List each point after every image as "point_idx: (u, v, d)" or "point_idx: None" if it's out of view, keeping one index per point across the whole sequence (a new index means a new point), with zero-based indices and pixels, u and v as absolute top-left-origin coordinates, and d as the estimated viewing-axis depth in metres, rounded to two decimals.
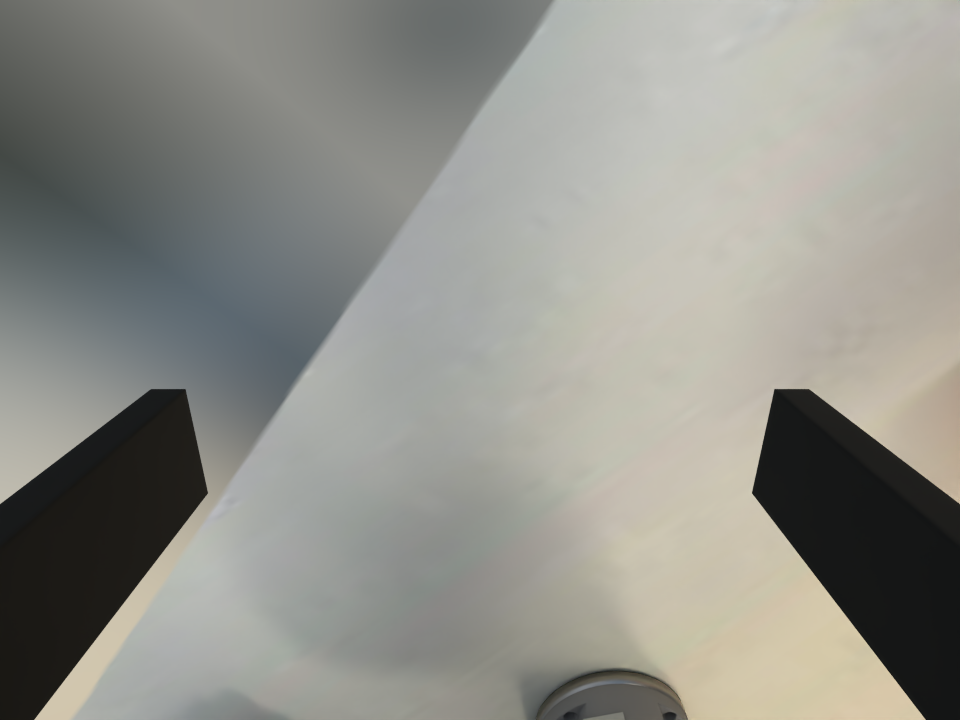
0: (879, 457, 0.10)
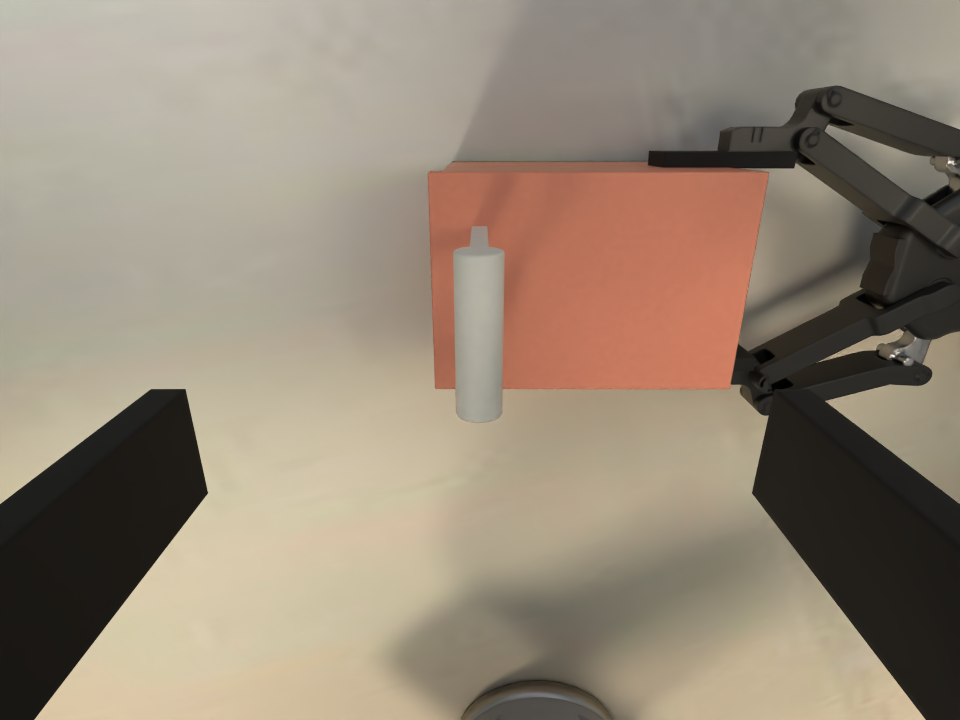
0: (879, 457, 0.10)
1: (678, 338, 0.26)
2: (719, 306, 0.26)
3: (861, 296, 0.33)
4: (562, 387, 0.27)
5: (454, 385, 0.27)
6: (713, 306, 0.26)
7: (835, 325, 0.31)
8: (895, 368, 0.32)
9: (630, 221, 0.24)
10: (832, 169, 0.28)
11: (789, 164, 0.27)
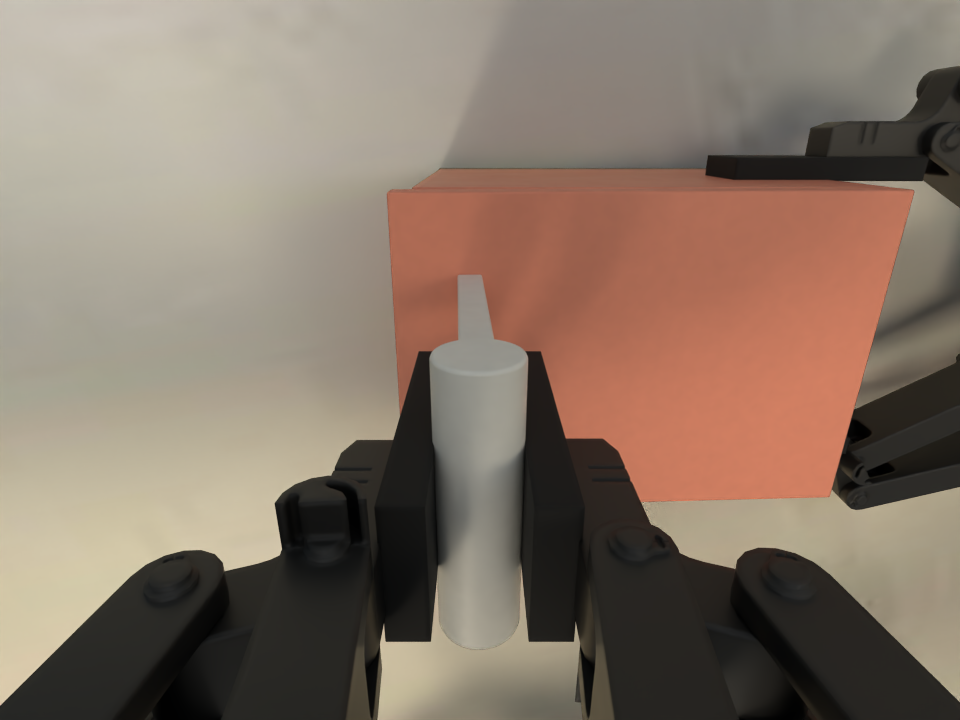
0: (539, 398, 0.12)
1: (763, 431, 0.18)
2: (824, 385, 0.18)
3: None
4: None
5: None
6: (815, 386, 0.18)
7: (957, 392, 0.23)
8: None
9: (701, 265, 0.16)
10: None
11: (916, 175, 0.19)
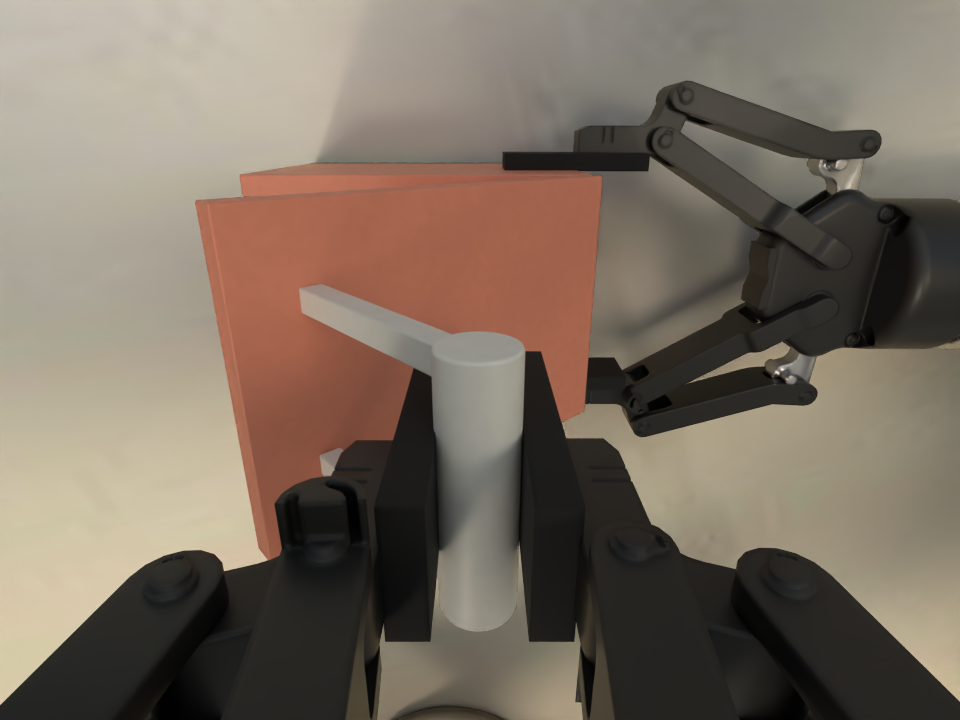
0: (539, 398, 0.12)
1: None
2: (573, 328, 0.23)
3: (744, 309, 0.30)
4: None
5: None
6: (569, 329, 0.23)
7: (711, 340, 0.29)
8: (777, 387, 0.29)
9: (494, 247, 0.19)
10: (690, 172, 0.25)
11: (642, 167, 0.25)
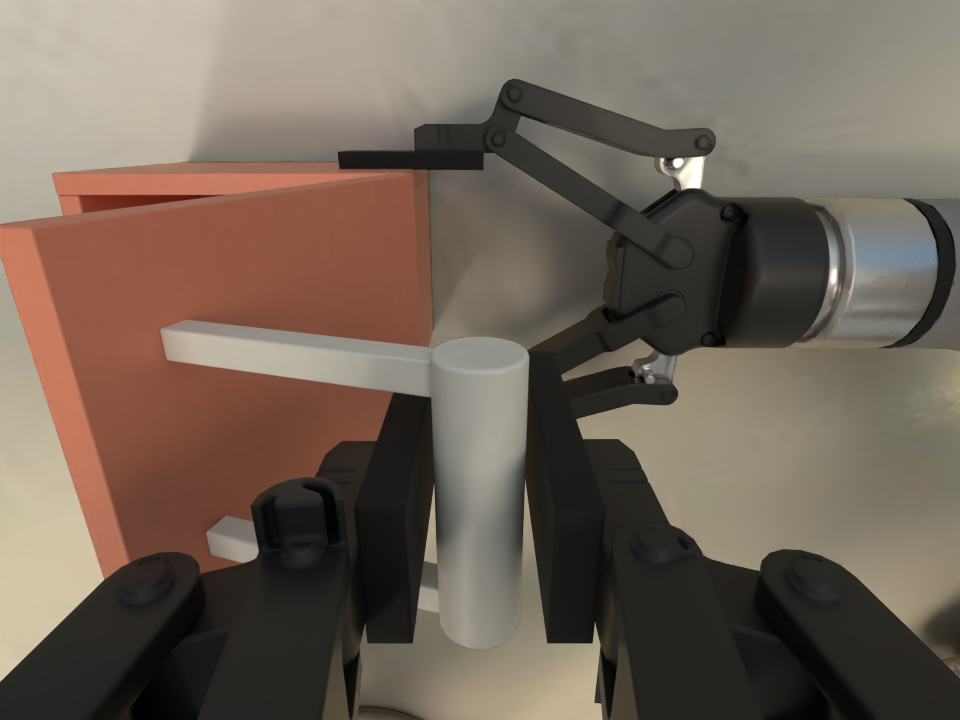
0: (553, 398, 0.12)
1: None
2: (408, 328, 0.23)
3: (608, 308, 0.30)
4: None
5: None
6: (405, 330, 0.22)
7: (569, 339, 0.29)
8: (637, 386, 0.29)
9: (341, 254, 0.17)
10: (527, 171, 0.25)
11: (477, 165, 0.25)
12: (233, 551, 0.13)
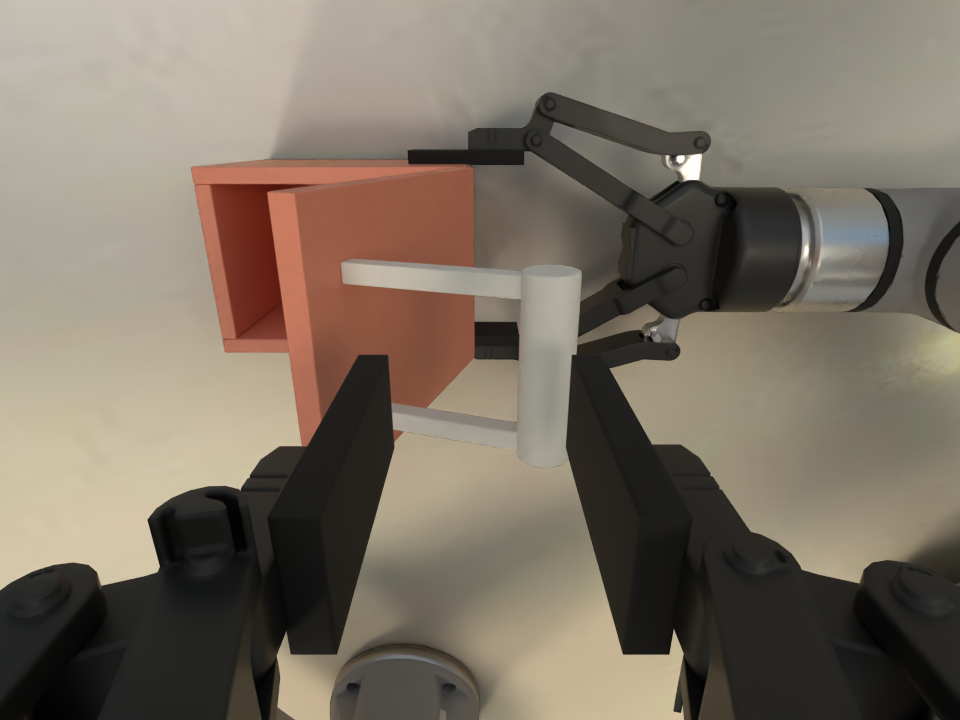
0: (613, 403, 0.11)
1: (455, 327, 0.28)
2: None
3: (622, 280, 0.36)
4: None
5: None
6: None
7: (590, 305, 0.35)
8: (646, 344, 0.35)
9: (429, 225, 0.23)
10: (559, 165, 0.31)
11: (518, 161, 0.31)
12: None
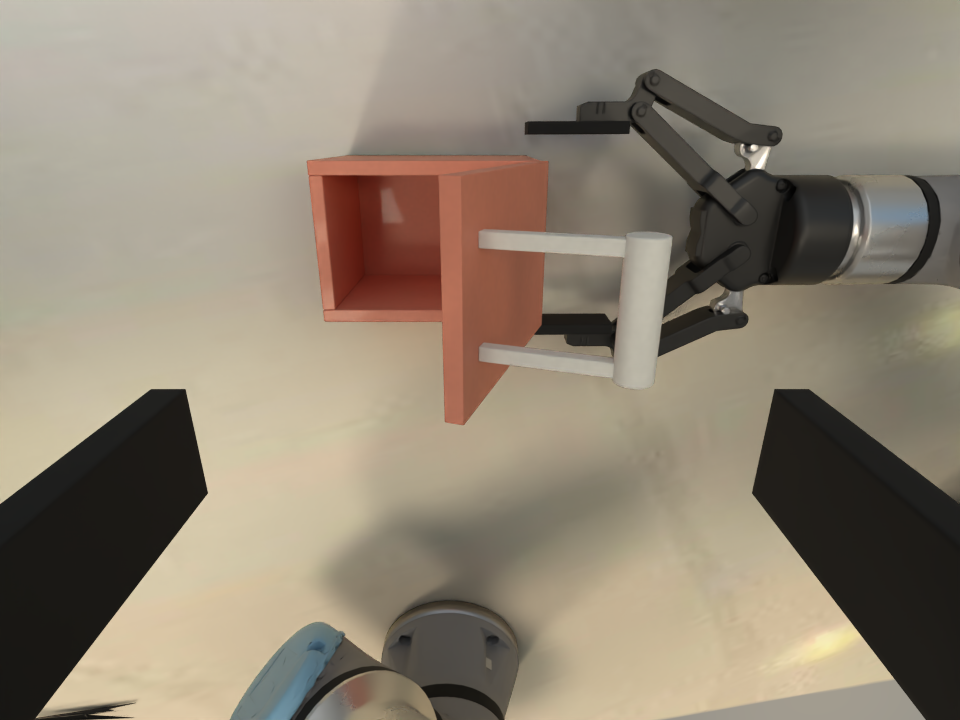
0: (879, 457, 0.10)
1: (532, 296, 0.33)
2: (540, 264, 0.34)
3: (690, 264, 0.41)
4: (505, 369, 0.29)
5: (472, 411, 0.25)
6: (538, 265, 0.34)
7: (667, 290, 0.40)
8: (717, 317, 0.40)
9: (522, 207, 0.29)
10: (655, 137, 0.36)
11: (625, 130, 0.35)
12: (494, 357, 0.24)
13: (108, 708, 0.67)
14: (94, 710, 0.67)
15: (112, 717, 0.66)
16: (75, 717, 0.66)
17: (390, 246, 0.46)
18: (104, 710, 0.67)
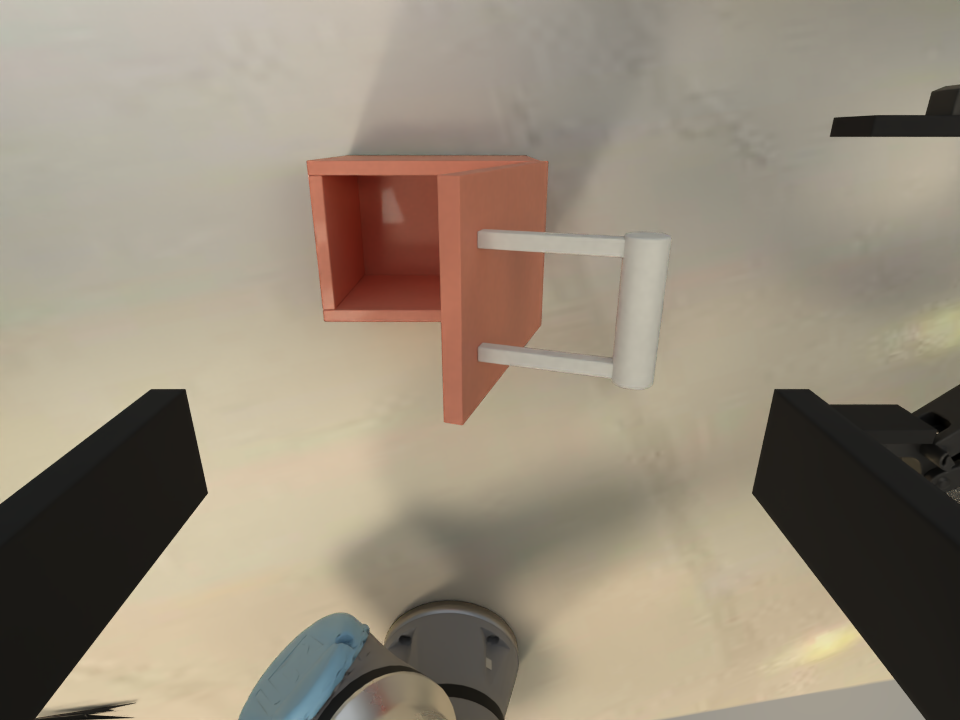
0: (879, 457, 0.10)
1: (532, 296, 0.33)
2: (539, 264, 0.34)
3: None
4: (505, 369, 0.29)
5: (471, 411, 0.25)
6: (538, 265, 0.34)
7: None
8: None
9: (522, 207, 0.29)
10: None
11: None
12: (493, 357, 0.24)
13: (108, 708, 0.67)
14: (94, 710, 0.67)
15: (112, 717, 0.66)
16: (75, 717, 0.66)
17: (390, 246, 0.46)
18: (104, 710, 0.67)
